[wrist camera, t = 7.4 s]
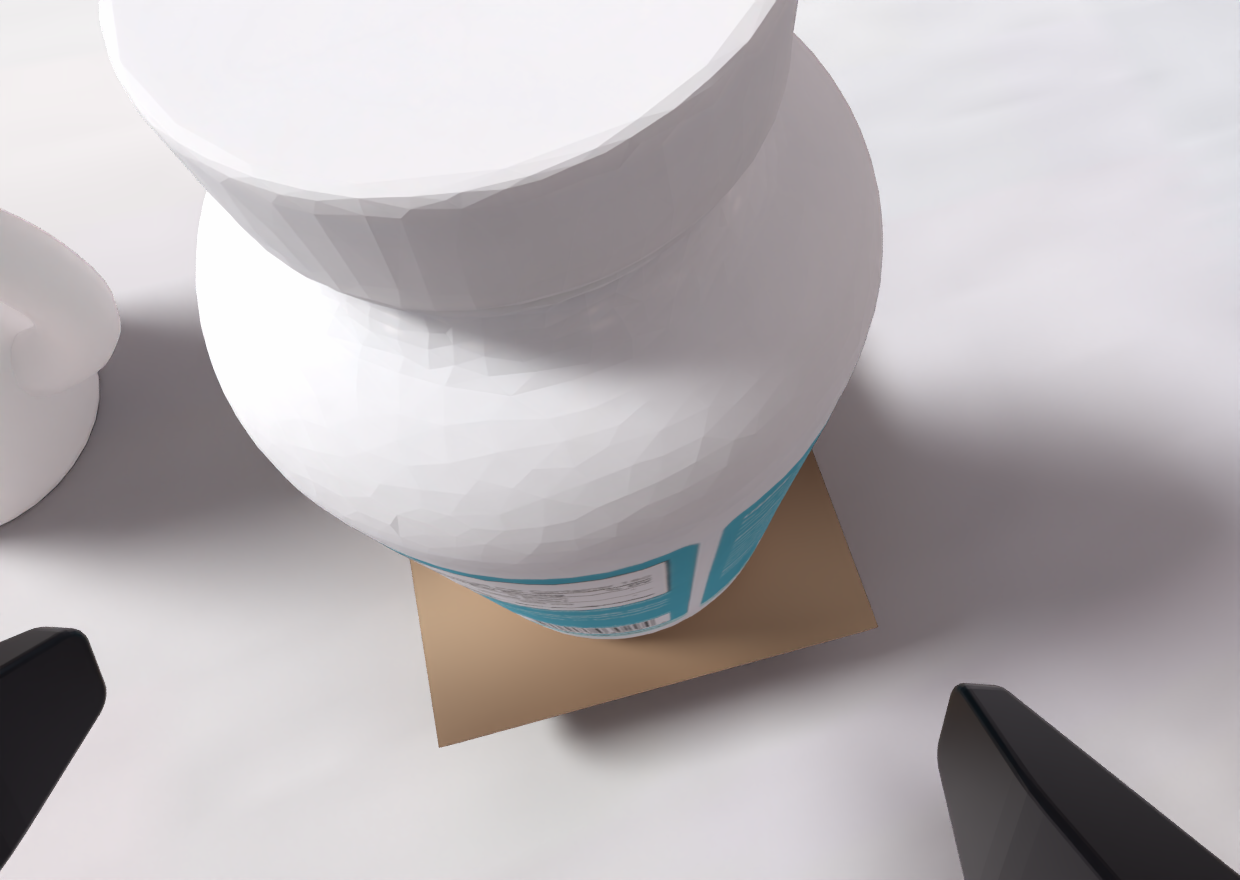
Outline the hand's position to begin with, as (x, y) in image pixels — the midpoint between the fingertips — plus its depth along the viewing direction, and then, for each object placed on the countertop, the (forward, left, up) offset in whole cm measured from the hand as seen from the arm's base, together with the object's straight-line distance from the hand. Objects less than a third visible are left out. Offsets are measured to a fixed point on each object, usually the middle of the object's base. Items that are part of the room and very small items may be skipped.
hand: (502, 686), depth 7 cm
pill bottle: (+4, -2, -9) cm, 10 cm away
